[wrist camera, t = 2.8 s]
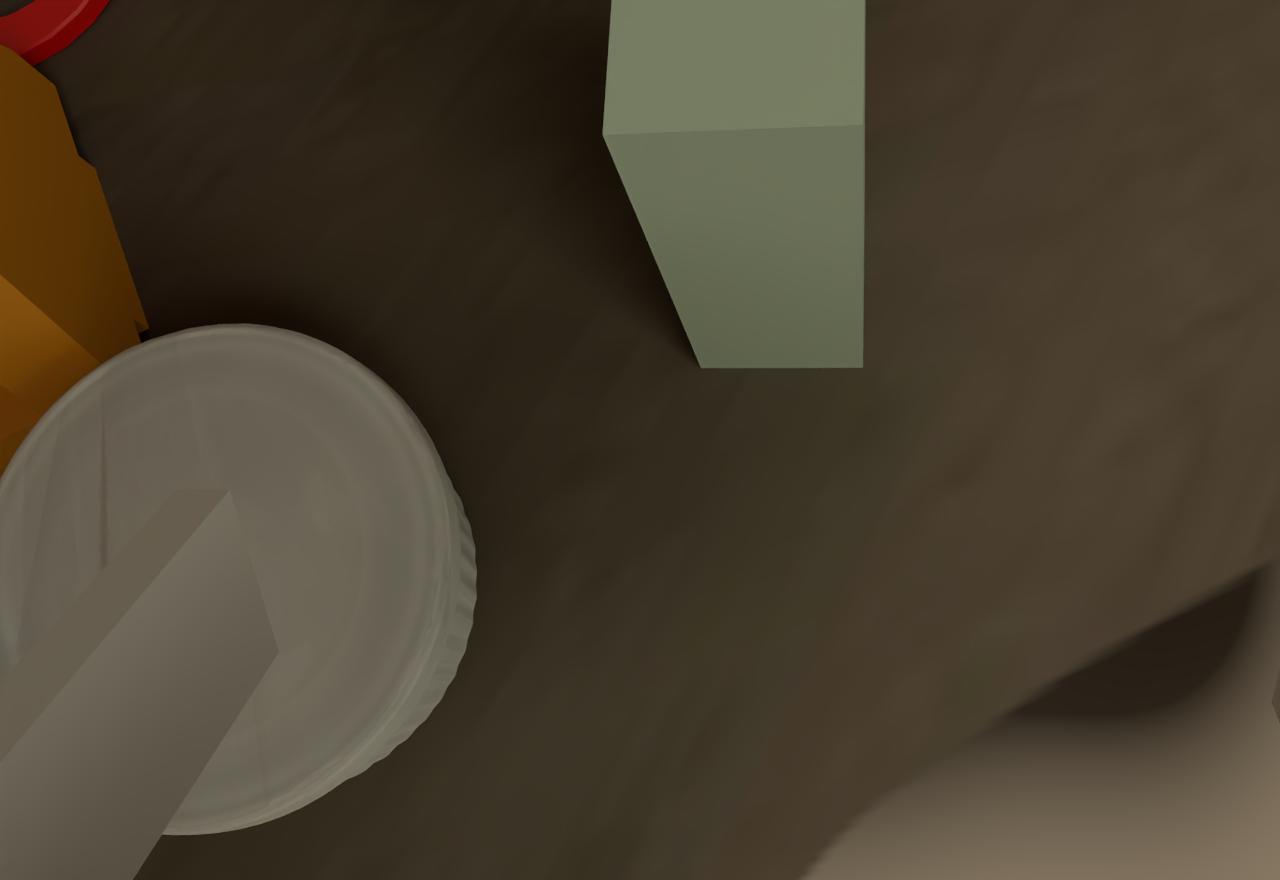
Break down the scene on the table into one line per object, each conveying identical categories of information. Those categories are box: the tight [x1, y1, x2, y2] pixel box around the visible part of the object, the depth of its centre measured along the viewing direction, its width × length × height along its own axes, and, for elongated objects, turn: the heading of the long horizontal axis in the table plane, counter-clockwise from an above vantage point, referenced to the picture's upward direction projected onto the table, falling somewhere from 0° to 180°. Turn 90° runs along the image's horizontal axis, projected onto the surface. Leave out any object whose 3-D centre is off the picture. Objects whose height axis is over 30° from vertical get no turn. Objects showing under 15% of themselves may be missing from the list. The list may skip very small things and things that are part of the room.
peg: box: [603, 0, 865, 368], centre depth 25 cm, size 4×4×12 cm
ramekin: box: [0, 324, 477, 835], centre depth 28 cm, size 11×11×5 cm
